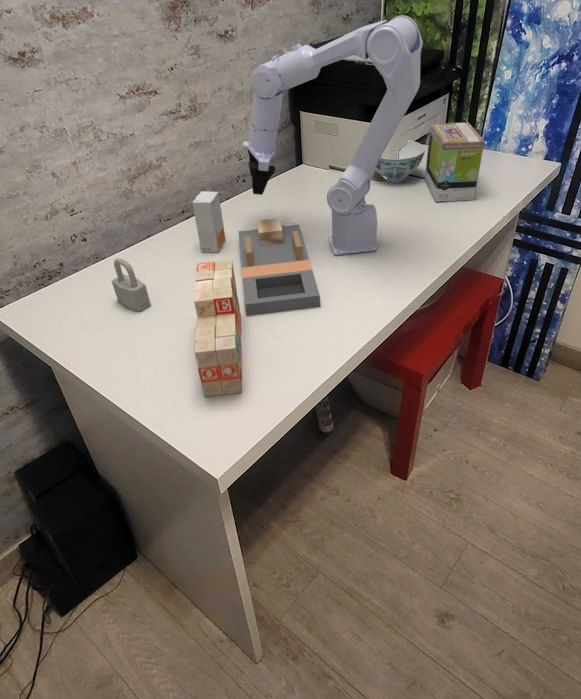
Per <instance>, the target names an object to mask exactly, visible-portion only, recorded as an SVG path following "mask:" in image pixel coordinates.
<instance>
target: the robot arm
mask: <svg viewBox="0 0 581 699" xmlns="http://www.w3.org/2000/svg"><path fill="white" fill-rule="evenodd" d="M414 20H415V19H413V18H412V17H409V15H408V16H407V15H397V16H394V17H393V18H392V19H390V20H389V21H388V19H385V20H381V21H377V22H373V23H371V24H367V25H364V26H362V27H359V28H357V29H355V30H353V31H351V32H348V33H346V34H345V35H342V36H341V37H338V38H336V39H334V40H332V41H330V42H327V43H326V44H324V45H322V46H320V47H318V48H314V47H312V45H308V44H305V45H302V44H301V43H298V44H296V45H294V46H292V47H291V50H290V51H289V52H286V53H285V54H283V55H279V54H276V55H274V56H271V60H269V61H267V62H265V63H263V64H259V65H258V66H257V67H256V68H255V69H253V71H252V72H251V74H250V85H251V89H252V91H253V92H254V93H253V100H252V109H251V116H250V117H251V118H250V126H249V134H248V136H249V137H248V140H247V141H246V140H245V141H243V142H242V148H243V149H245V150H247V152H248V158H249V161H248V163H247V164H248V169H249V172H250V176H251V181H252V182H251V184H252V185H251V186H252V187H251V188H252V194H254V195H260V196H262V195H263V194H264V192H265V190H266V187H267V185H268V183H269V181H270V179H271V177H273V175H274V174H275V172H276V166H275V165H270V161H271V160H272V158H273V156H274V154H275V153H276V151H277V150H276V149H277V146H276V144H277V143H276V142H277V138H278V130H279V122H280V118H281V117H280V116H281V110H282V103H283V96H284V92H285V90H289V89H290V90H291V89H292V88H294V87H298V86H299V85H302V84H304V83H306V82H309V81H311V80H314V79H317V77H318V75H319V74H320V72H321V68H323V67H325V66H328V65H330V64H333V63H336V62H339V61H341V60H344V59H346V58H349V57H352V56H357V57H358V58H360V59H362V60H364V61H366V60H367V59H369V60H370V61H371V63H372V64H373V65H374V67H375V68H376V70H377V71H378V72H379V74H380V75H381V76H382V78H383V80H384V83H385V85H386V92H385V94H384V96H383V98H382V100H381V101H380V104H379V106H378V107H377V109H376V112H375V114H374V115H373V118H372V120H371V121H370V123H369V125H368V128H367V129H366V131H365V133H364V135H363V137H362V139H361V141H360V143H359V145H358V147H357V148H356V151H355V152H354V154H353V157H352V159H351V160H350V162H349V164H348V166H347V167H346V169H345V170H344V171H343V173H342V175H341V176H340V177H339V180H338V181H337V182H336V183H335V184H334V185H332V186H330V188H329V189H328V191H327V194H326V201H327V202H326V203H327V204H328V205H327V206H328V207H329V208H330V210H331V228H332V229H331V234H332V235H331V236H329V237H328V244H329V245H330V248H331V250H332V253H333V255H334V256H340V255H348V254H349V255H350V254H360V253H367V252H375V251H377V250H378V247H377V241H378V240H377V238H378V237H377V236H378V235H377V234H378V217H377V216H378V215H377V214H378V213H377V210H376V209H377V208H376V206H375V205H374V204H368V203H366V199H365V198H366V196H367V194H368V193H369V192H370V189H371V180H372V178H373V175H374V174H375V172H374V170H375V169H374V168H375V167H376V165H377V163H378V161H379V159H380V158H381V156H382V154H383V152H384V150H385V149H386V147H387V145H388V143H389V142H390V140H392V138H393V136H394V135H395V132H396V130H397V129H398V127H399V125H400V124H401V121H402V120H403V119H404V116H405V115H406V113H407V111H408V110H409V107H410V106H411V103H412V102H413V100H414V99H415V96H416V95H417V93H418V91H419V88H420V85H421V53H422V48H423V43H424V41H423V39H422V36H421V32H420V29H419V28H418V25H417V22H416V21H414Z"/></svg>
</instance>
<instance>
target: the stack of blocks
mask: <svg viewBox="0 0 581 699" xmlns="http://www.w3.org/2000/svg"><path fill="white" fill-rule="evenodd" d="M234 269H235V268H234V266H233V259H226V260H215V261H206V262H200V263H196V268H195V275H194V276H195V277H194V278H195V279H194V280H195V281H194V289H193V290H194V295H193V296H194V297H193V304H194V308H195V312H196V317H197V318H196V327H195V336H194V344H195V345H194V346H195V348H194V355H195V359H196V365H197V372H198V376H199V381H200V383H201V384H200V385H201V388H202V389H201V390H202V393H203V396H204V397H213V396H214V397H215V396H220V395H221V396H222V395H231V394H239V393H243V360H242V359H243V356H242V314H241V307H240V303H239V297H238V290H237V283H236V277H235V276H236V275H235V270H234Z"/></svg>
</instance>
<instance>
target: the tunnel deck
mask: <svg viewBox="0 0 581 699" xmlns="http://www.w3.org/2000/svg"><path fill="white" fill-rule="evenodd" d="M281 227H282V234H283V243H278V244H270V245H260V239H259V232H258V228H256V229H246V230H240V231H238V242H239V250H240V251H239V254H240V263H241V273H242V276H241V277H242V286H243V296H244V307H245V313H246V314H245V315H246V316H254V315H262V314H263V315H264V314H270V313H277V312H286V311H287V312H288V311H295V310H302V309H303V310H304V309H311V308H318V307H321V298H320V297H321V295H320V292H319V288H318V284H317V282H316V278H315V274H314V270H313V267H312V265H311V262H310V258H309V254H308V250H307V247H306V243H305V240H304V238H303V234H302V230H301V227H300V224H291V225H281Z"/></svg>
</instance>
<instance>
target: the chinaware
mask: <svg viewBox="0 0 581 699" xmlns="http://www.w3.org/2000/svg"><path fill="white" fill-rule="evenodd" d="M425 152H426V147H425V146H424V145H423V144H422V143H420V142H417V141H413V140H410V139H408V143H407V146H405V147H404V148H402V149H401V150H400V151H399V159H388V158H380V159H379V161H378V163H377V165H376V167H375V169H376V170H377V171H378V172H379V173H380V174H379V173H378V172H377V171H376V170H375V169H374V170H375V171H376V172H377V173H378V174H379V175H381V174H382V175H383V176H385V177H387V180H388V181H387V182H390V181H391V182H392V183H397V182H403V181H404V180H407V178H408V176H409V175H410V174H412V173H413V172H414V171H415V170H416V169H418V167H419V166H420V164H421V163H422V161H423V158H424V155H425ZM382 175H381V176H382Z"/></svg>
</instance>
